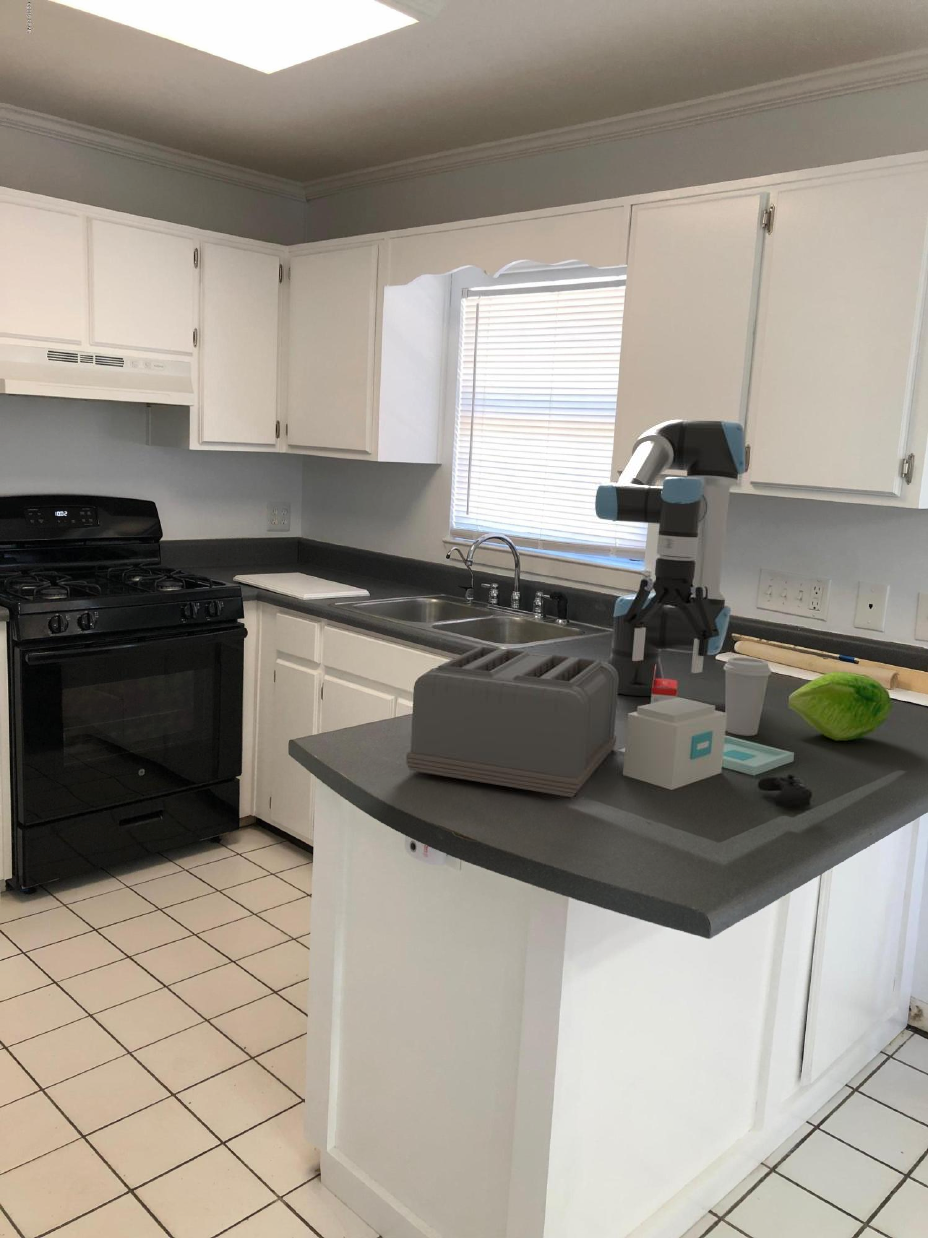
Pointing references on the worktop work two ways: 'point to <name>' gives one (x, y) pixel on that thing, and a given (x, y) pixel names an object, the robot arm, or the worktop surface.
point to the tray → (752, 756)
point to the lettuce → (842, 704)
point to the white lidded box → (674, 742)
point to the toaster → (515, 719)
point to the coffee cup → (745, 694)
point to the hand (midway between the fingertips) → (666, 666)
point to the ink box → (663, 689)
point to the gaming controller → (786, 790)
